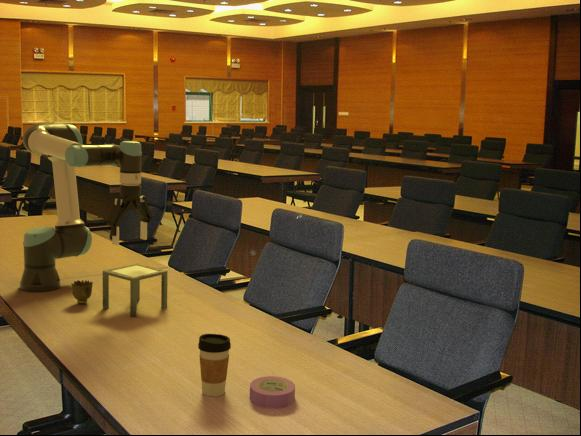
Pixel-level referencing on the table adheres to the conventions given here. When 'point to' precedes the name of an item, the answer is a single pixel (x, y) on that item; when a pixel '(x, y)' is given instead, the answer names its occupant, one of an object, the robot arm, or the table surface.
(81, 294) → the dark piece
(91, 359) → the table surface
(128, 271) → the trapdoor
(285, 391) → the masking tape
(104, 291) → the trapdoor frame
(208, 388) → the coffee cup
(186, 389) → the table surface
